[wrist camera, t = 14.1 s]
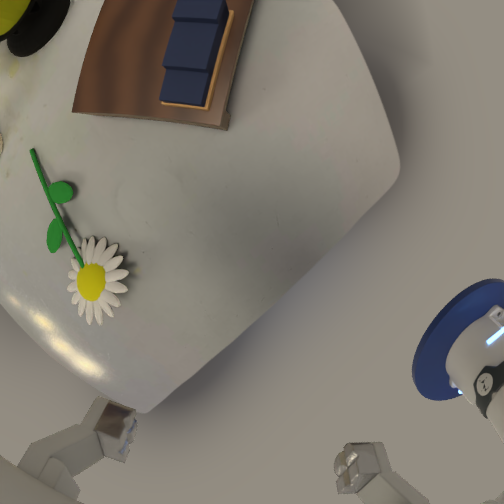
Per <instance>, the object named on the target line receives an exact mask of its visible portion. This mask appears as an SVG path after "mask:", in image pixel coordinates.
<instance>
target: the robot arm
mask: <svg viewBox="0 0 504 504" xmlns="http://www.w3.org/2000/svg"><path fill="white" fill-rule="evenodd" d="M446 371H447V373H448V375H449V377H450V380H449V384H450V386H451V387H452V388H456V387H457V388H458V389H459V391H458V392H459V394H463V395H464V396H465V398H466V399H467V400H468V401H469V403H471V404H476V405H477V407H478V409H479V411H480V412H481V414H483V416H484V417H485V418H488V419H489V421H490V422H491V424H492V425H493V427H494V429H495V431H496V432H497V434H498V436H499V437H500V439H501V441H502V442H503V444H504V309H503V308H502V307H500V306H499V305H494V306H493V307H492V308H491V309H490V310H489V311H488V312H487V313H486V314H485V315H484V316H483V317H481V318H479V319H477V320H476V321H474V322H473V323H472V324H470V325H469V326H468V327H467V328H466V329H465V330H464V331H463V332H462V333H461V334H460V335H459V337H458V338H457V339H456V341H455V342H454V344H453V345H452V347H451V349H450V351H449V353H448V356H447V359H446ZM135 416H136V409H133V408H130V407H127V406H124V405H122V404H119V403H116V402H113V401H111V400H108V399H106V398H103V397H100V396H98V397H97V398H96V399H95V400H94V402H93V404H92V405H91V407H90V409H89V411H88V412H87V414H86V416H85V417H84V419H83V421H82V423H81V424H80V425H78V424H75V425H73V426H71V427H69V428H67V429H64V430H62V431H60V432H58V433H55V434H53V435H50V436H48V437H46V438H43V439H41V440H38V441H36V442H34V443H31V445H30V446H29V448H28V450H27V451H26V453H25V454H24V456H23V458H22V459H21V461H20V463H19V464H18V466H17V467H16V466H15V465H13V464H12V463H10V462H9V461H8V460H6V459H5V458H3V457H2V456H1V455H0V504H83V503H81V502H79V501H77V498H78V495H79V493H80V489H79V487H78V485H77V484H76V482H75V481H74V479H73V477H74V476H76V475H77V474H79V473H80V472H82V471H84V470H85V469H87V468H89V467H90V466H92V465H93V464H95V463H96V462H98V461H99V460H101V459H102V458H104V456H105V457H108V458H111V459H114V460H117V461H120V462H123V463H125V461H126V458H127V456H128V453H129V451H130V450H129V444H130V443H132V442H133V441H134V438H135V435H136V431H137V421H136V420H135ZM334 471H335V473H336V475H337V476H338V477H339V478H338V479H337V481H336V483H337V490H338V494H350V493H357V496H358V497H359V498H360V499H361V500H362V502H363V503H364V504H429V500H428V499H427V498H426V497H424V496H423V495H422V494H421V493H420V492H418V491H417V490H416V489H415V488H414V487H413V486H411V485H410V484H409V483H408V482H407V481H405V480H404V479H403V478H402V477H401V476H400V475H398V474H397V473H396V472H392V470H391V466H390V463H389V460H388V457H387V453H386V450H385V448H384V444H383V443H382V442H361V443H360V442H359V443H347V444H346V445H345V446H344V451H342V452H341V453H339V454H338V455H337V457H336V459H335V463H334ZM482 504H504V491H503V492H502V494H500V495H499V497H497V498H496V499H495V501H494V500H489V501H486V502H484V503H482Z"/></svg>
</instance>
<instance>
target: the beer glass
mask: <svg viewBox="0 0 504 504" xmlns="http://www.w3.org/2000/svg"><path fill="white" fill-rule="evenodd" d="M2 149H3V139H2V135H1V133H0V156H1V153H2Z"/></svg>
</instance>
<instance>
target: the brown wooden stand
mask: <svg viewBox="0 0 504 504" xmlns="http://www.w3.org/2000/svg"><path fill="white" fill-rule="evenodd" d="M176 3H177V0H105V1H104V3H103V6H102V8H101V11H100V13H99V16H98V19H97V21H96V24H95V27H94V30H93V33H92V36H91V39H90V42H89V45H88V48H87V52H86V55H85V58H84V62H83V66H82V69H81V73H80V77H79V81H78V85H77V89H76V94H75V98H74V103H73V108H72V112H73V113H81V114H89V115H96V116H112V117H126V118H138V119H148V120H158V121H166V122H174V123H182V124H189V125H196V126H202V127H209V128H215V129H221V130H226V131H227V130H228V126H229V121H230V117H231V116H230V115H229V114H228V112H227V111H226V107H227V102H228V98H229V94H230V90H231V85H232V81H233V77H234V73H235V69H236V65H237V61H238V57H239V54H240V50H241V46H242V42H243V39H244V35H245V31H246V28H247V24H248V21H249V17H250V14H251V10H252V7H253V3H254V0H226V3H227V6H228V10H233V11H234V18H233V22H232V25H231V28H230V32H229V35H228V39H227V43H226V46H225V50H224V54H223V57H222V61H221V65H220V69H219V73H218V77H217V81H216V85H215V89H214V93H213V97H212V101H211V106H210V110H209V111H205V110H198V109H191V108H183V107H174V106H165V105H163V104H161V103H162V101H160V100H159V96H160V92H161V88H162V84H163V80H164V76H165V72H166V69H165V68H164V67H163V66H162V62H163V59H164V55H165V52H166V48H167V45H168V41H169V38H170V35H171V32H172V29H173V26H174V23H175V21H174V20H173V18H172V14H173V11H174V8H175V6H176Z"/></svg>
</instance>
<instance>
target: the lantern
mask: <svg viewBox="0 0 504 504" xmlns="http://www.w3.org/2000/svg"><path fill="white" fill-rule="evenodd" d="M69 4H70V0H0V42H1V41H3V40H5V39H7V45H8V48H9V50H10V52H11V53H12V54H14V55H15V56H19V57H24V56H29V55H31V54H33V53H35V52H37V51H38V50H39V49H41V48H42V47H43V46H44V45H45V44H46V43H47V42H48V41H49V40H50V39H51V38H52V37H53V35H54V34H55V33H56V32H57V30H58V29H59V27H60V26H61V24H62V22H63V20H64V19H65V16H66V14H67V12H68V8H69Z"/></svg>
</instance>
